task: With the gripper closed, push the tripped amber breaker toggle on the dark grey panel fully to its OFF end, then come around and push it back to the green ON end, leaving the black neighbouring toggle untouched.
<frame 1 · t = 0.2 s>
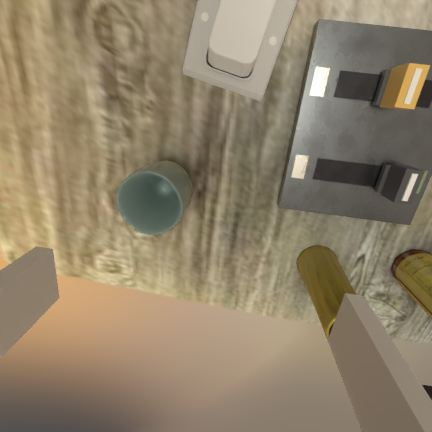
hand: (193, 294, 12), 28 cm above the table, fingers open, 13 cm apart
lever a: (401, 88, 28), point 5 cm above the table, slide at 0.5 cm
vase: (316, 261, 42), on the table
breaker panel: (363, 132, 34), on the table
cup: (171, 181, 39), on the table
light switch: (238, 33, 32), on the table
sauce bottle: (410, 263, 41), on the table
lever b: (399, 182, 32), point 5 cm above the table, slide at 4.0 cm
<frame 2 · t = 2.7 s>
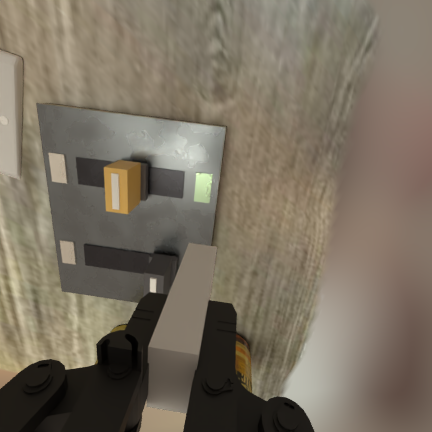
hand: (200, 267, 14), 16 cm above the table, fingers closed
lever a: (125, 185, 24), point 5 cm above the table, slide at 0.5 cm
breaker panel: (137, 215, 31), on the table
sauce bottle: (227, 343, 37), on the table
lever b: (158, 279, 28), point 5 cm above the table, slide at 4.0 cm
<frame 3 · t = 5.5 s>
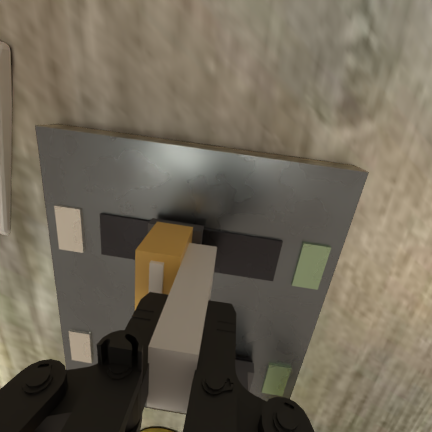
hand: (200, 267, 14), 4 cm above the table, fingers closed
lever a: (166, 268, 14), point 5 cm above the table, slide at -0.7 cm, touching gripper
breaker panel: (187, 291, 20), on the table
lever b: (228, 406, 18), point 5 cm above the table, slide at 4.0 cm
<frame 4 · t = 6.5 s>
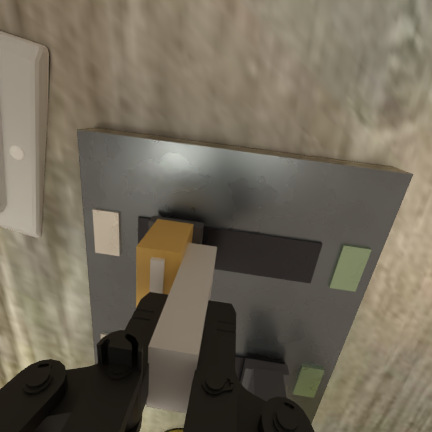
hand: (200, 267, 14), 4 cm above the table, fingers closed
lever a: (167, 265, 14), point 5 cm above the table, slide at -3.0 cm, touching gripper
breaker panel: (218, 294, 20), on the table
lever b: (264, 408, 18), point 5 cm above the table, slide at 4.0 cm
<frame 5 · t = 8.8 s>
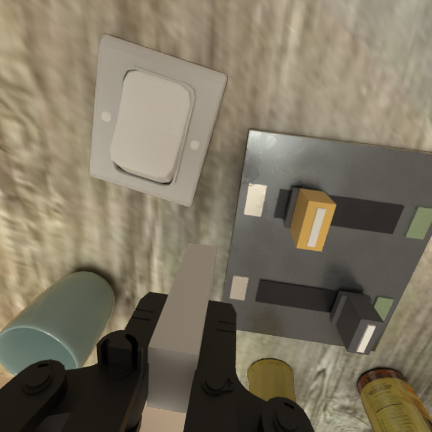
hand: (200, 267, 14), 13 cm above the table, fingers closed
lever a: (309, 217, 22), point 5 cm above the table, slide at -3.1 cm
vase: (269, 372, 36), on the table
breaker panel: (316, 247, 28), on the table
cup: (94, 287, 33), on the table
light switch: (155, 130, 26), on the table
sauce bottle: (378, 379, 35), on the table
lever b: (356, 321, 26), point 5 cm above the table, slide at 4.0 cm
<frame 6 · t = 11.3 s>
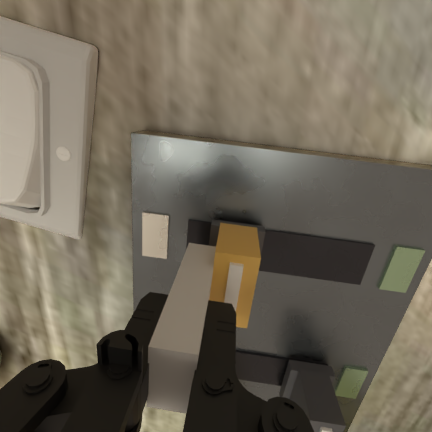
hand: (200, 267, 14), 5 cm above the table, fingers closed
lever a: (233, 269, 14), point 5 cm above the table, slide at -2.5 cm, touching gripper
breaker panel: (259, 295, 20), on the table
light switch: (18, 132, 18), on the table
lever b: (311, 410, 17), point 5 cm above the table, slide at 4.0 cm
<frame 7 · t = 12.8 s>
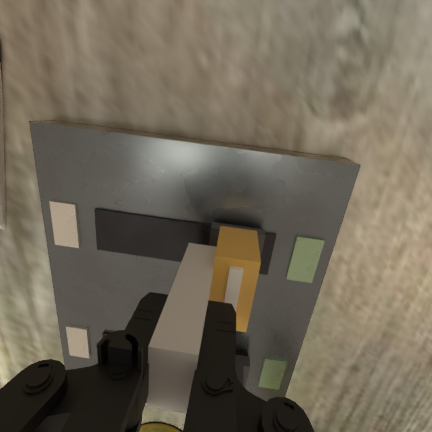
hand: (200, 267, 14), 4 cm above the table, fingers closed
lever a: (232, 272, 14), point 5 cm above the table, slide at 3.2 cm, touching gripper
breaker panel: (184, 286, 20), on the table
lever b: (223, 399, 18), point 5 cm above the table, slide at 4.0 cm
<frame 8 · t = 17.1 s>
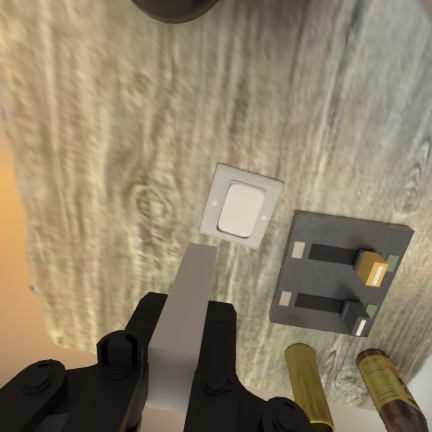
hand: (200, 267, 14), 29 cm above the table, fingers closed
lever a: (371, 267, 41), point 5 cm above the table, slide at 3.2 cm
vase: (299, 353, 55), on the table
breaker panel: (331, 274, 47), on the table
light switch: (239, 207, 45), on the table
sauce bottle: (370, 357, 54), on the table
lever b: (355, 318, 44), point 5 cm above the table, slide at 4.0 cm
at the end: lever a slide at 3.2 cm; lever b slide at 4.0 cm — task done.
